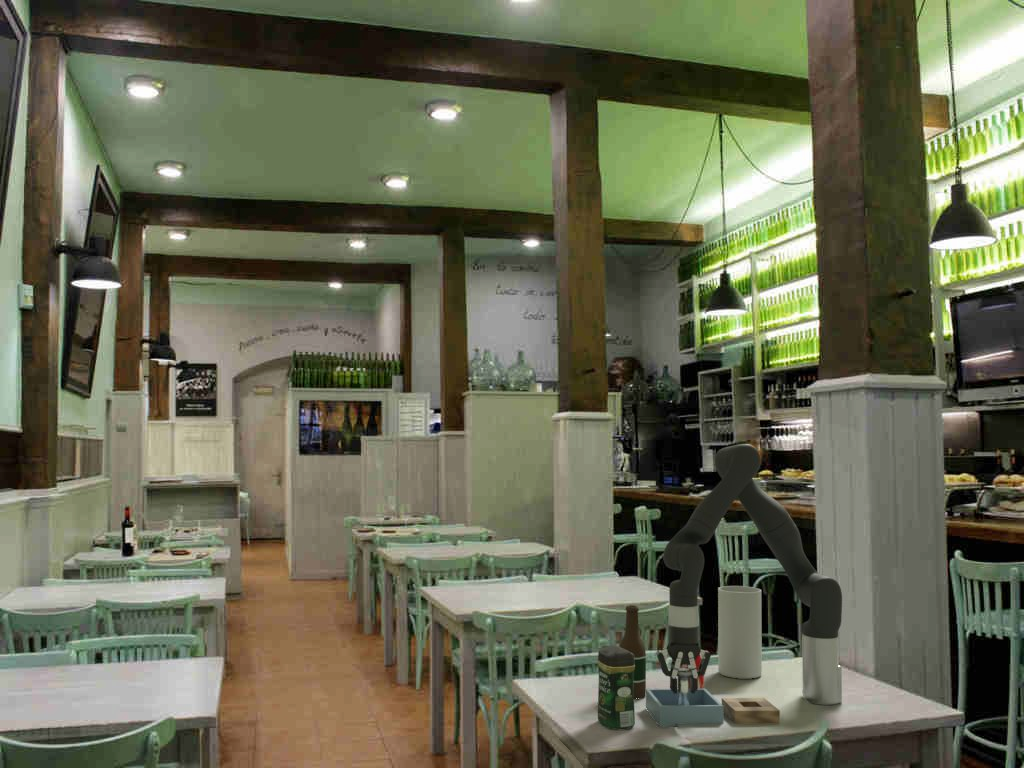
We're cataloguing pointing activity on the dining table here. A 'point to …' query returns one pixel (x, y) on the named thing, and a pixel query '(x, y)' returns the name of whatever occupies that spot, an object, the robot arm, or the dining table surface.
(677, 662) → the robot arm
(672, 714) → the pin tray
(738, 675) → the cylinder vase
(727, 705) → the wooden square hole block
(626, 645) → the beer bottle
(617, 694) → the coffee jar
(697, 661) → the soda can
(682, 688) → the pin
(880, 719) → the dining table surface
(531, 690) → the dining table surface
